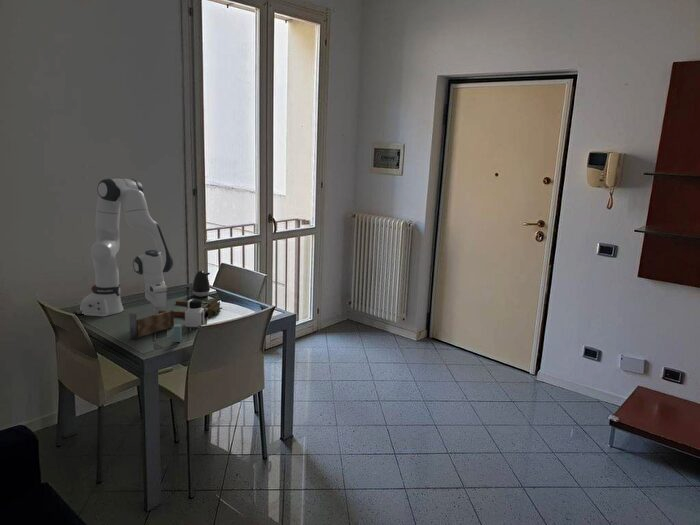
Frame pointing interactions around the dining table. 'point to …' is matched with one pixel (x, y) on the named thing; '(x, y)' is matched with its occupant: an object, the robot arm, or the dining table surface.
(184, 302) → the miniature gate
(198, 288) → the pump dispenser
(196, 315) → the container
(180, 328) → the latch post
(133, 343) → the dining table surface
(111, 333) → the dining table surface
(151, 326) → the gate
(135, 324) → the hinge post
